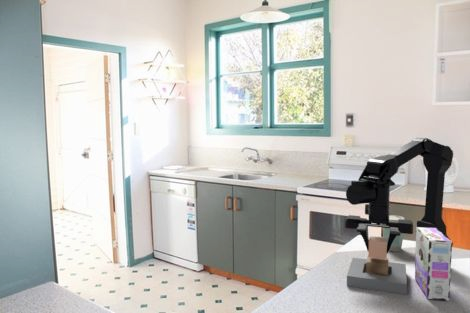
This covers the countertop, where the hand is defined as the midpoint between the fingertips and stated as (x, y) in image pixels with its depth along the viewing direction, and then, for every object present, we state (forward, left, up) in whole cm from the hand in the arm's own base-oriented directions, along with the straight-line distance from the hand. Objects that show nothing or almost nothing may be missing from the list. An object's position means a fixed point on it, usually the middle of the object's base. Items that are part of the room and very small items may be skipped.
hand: (377, 252), depth 117 cm
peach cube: (0, 0, -1) cm, 1 cm away
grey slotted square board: (0, 0, -8) cm, 8 cm away
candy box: (-14, +2, -9) cm, 17 cm away
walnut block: (0, 0, -8) cm, 8 cm away
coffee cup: (-4, -31, -9) cm, 32 cm away
